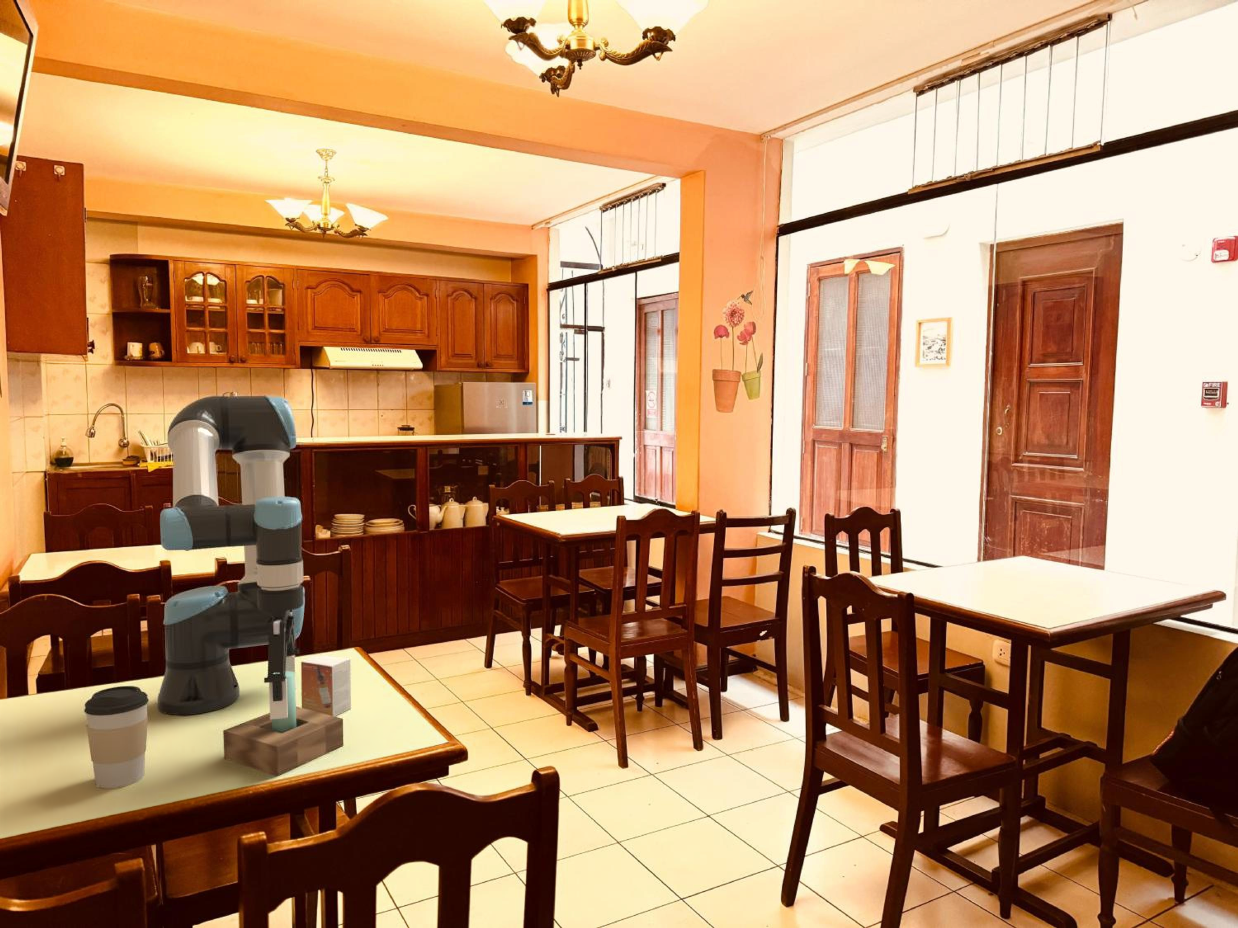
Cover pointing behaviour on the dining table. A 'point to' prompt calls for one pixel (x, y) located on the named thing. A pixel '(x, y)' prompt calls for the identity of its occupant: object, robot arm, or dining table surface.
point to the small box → (326, 684)
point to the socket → (283, 741)
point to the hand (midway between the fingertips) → (283, 703)
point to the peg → (290, 721)
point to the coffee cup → (117, 735)
